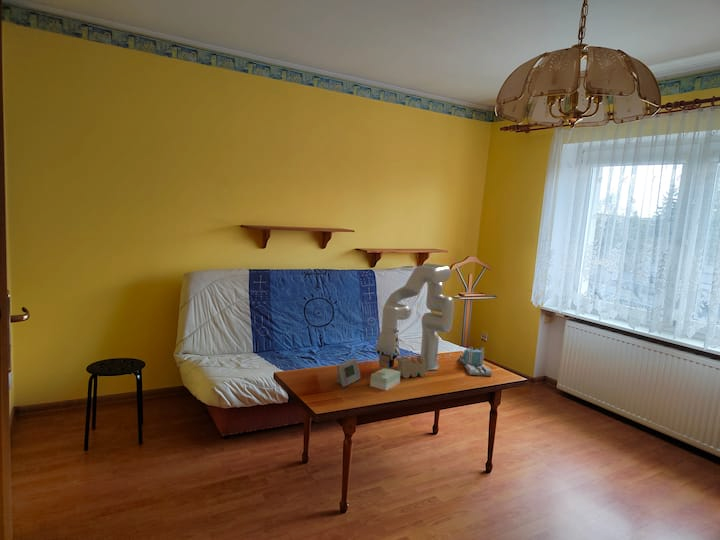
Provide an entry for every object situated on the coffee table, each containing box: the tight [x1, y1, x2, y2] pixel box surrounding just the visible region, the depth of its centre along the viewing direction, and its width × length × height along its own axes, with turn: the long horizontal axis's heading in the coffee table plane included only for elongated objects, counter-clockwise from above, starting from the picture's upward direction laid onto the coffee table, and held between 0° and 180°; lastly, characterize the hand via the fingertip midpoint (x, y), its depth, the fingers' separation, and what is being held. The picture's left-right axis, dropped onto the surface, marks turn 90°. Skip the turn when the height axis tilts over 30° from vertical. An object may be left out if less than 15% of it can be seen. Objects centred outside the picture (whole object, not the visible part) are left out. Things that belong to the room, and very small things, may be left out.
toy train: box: [396, 355, 429, 379], centre depth 250 cm, size 6×17×10 cm, turn 113°
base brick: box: [369, 368, 401, 391], centre depth 235 cm, size 14×9×6 cm, turn 146°
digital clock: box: [336, 358, 361, 388], centre depth 235 cm, size 16×9×11 cm, turn 137°
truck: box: [458, 343, 493, 377], centre depth 270 cm, size 12×29×15 cm, turn 1°
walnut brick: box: [379, 352, 391, 369], centre depth 234 cm, size 5×5×6 cm
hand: (386, 365), depth 234 cm, fingers closed on walnut brick, 5 cm apart
